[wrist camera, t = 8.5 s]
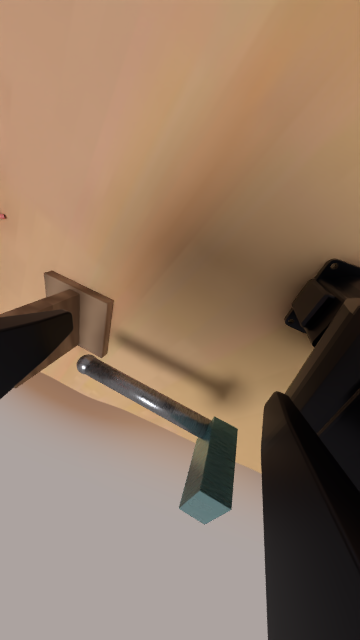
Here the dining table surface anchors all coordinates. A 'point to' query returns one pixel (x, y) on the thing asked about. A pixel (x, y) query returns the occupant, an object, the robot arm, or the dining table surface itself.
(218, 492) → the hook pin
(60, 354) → the eye block
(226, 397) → the dining table surface
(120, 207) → the dining table surface
